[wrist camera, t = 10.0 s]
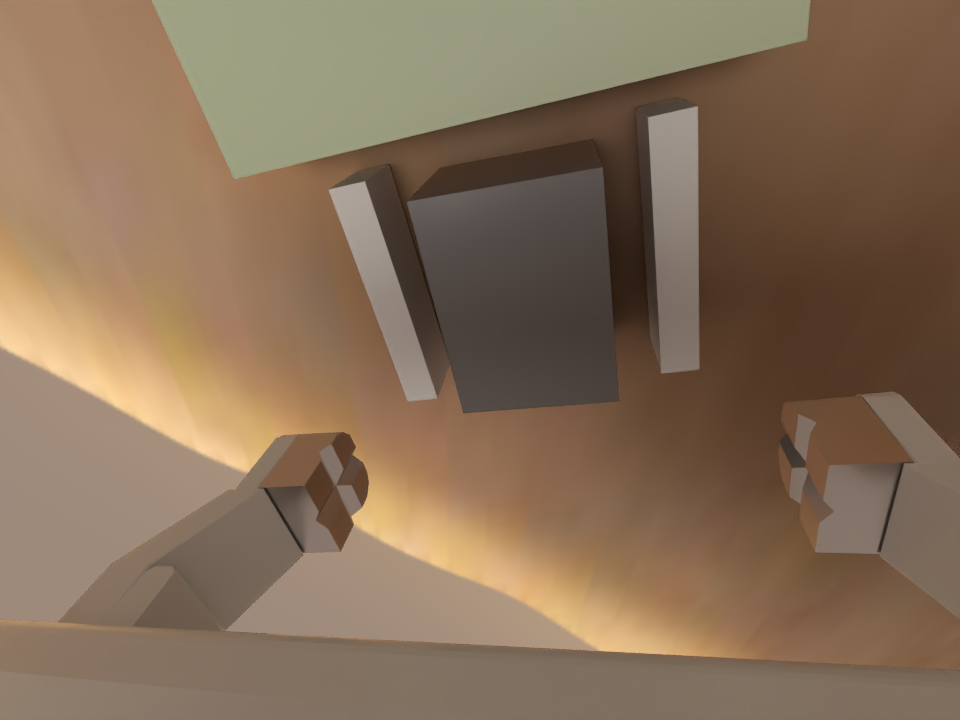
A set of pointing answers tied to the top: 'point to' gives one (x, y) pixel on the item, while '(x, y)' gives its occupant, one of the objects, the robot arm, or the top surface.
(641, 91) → the top surface
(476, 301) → the dark grey box
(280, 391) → the top surface
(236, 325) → the top surface
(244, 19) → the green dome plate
